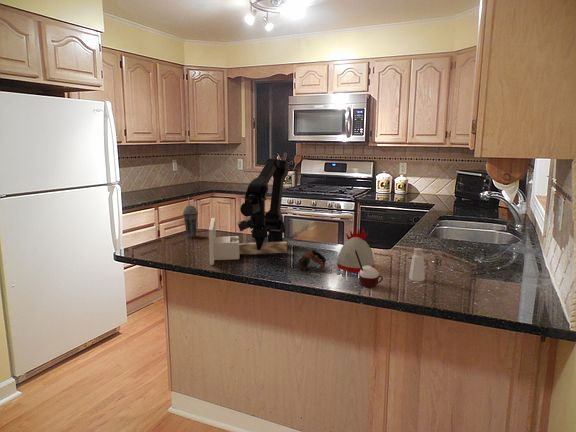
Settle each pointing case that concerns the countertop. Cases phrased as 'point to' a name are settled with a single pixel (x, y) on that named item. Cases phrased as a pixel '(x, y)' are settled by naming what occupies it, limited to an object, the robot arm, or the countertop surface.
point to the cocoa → (368, 275)
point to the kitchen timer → (348, 255)
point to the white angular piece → (222, 245)
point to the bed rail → (263, 248)
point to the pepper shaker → (417, 266)
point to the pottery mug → (312, 255)
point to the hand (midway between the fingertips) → (258, 249)
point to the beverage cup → (190, 220)
